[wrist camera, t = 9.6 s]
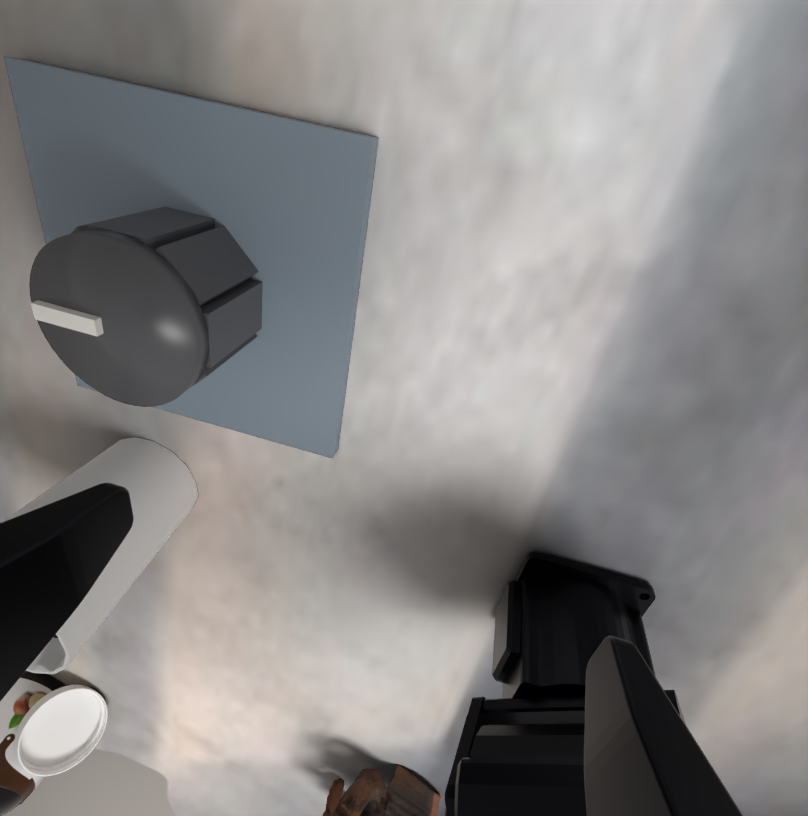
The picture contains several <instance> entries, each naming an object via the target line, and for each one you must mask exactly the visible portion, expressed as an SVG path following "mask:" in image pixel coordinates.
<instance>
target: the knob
mask: <svg viewBox="0 0 808 816" xmlns="http://www.w3.org/2000/svg"><path fill="white" fill-rule="evenodd" d="M258 272H259V271H258V269H257V268H256V267H255V265H254V264H253V263H252V261H251V260H250V259H249V258H248V256H247V255H246V254H245V252H244V251H243V250H242V248H241V247H240V246H239V244H238V243H237V242H236V240H235V239H234V238H233V236H232V235H231V234H230V232H229V231H228V230H227V228H226V227H225V226H221V227H218V228H215V219H214V218H210V217H206V216H202V215H198V214H194V213H190V212H186V211H182V210H178V209H174V208H170V207H166V206H165V207H161V208H156V209H152V210H148V211H143V212H139V213H134V214H130V215H125V216H121V217H117V218H112V219H108V220H103V221H99V222H94V223H90V224H86V225H82V226H77V227H76V228H75V230H74V231H73V232H72V233H71V234H68V235H64V236H62V237H59V238H56V239H54V240H52V241H51V242H49V243H48V244H46V245H45V246H44V247H43V248H42V249H41V250H40V252H39V253H38V255H37V256H36V258H35V260H34V263H33V265H32V269H31V274H30V296H31V302H32V303H31V307H32V311H33V315H34V319H36V320H37V321H38V324H39V326H40V328H41V330H42V332H43V334H44V336H45V338H46V339H47V341H48V342H49V344H50V346H51V347H52V349H53V350H54V351H55V353H56V354H57V355H58V357H59V358H60V359H61V360H62V361H63V362H64V363H65V365H66V366H67V367H68V368H69V369H70V370H71V371H72V372H73V373H74V374H75V375H77V376H78V377H79V378H80V379H81V380H83V381H84V382H85V383H86V384H88V385H89V386H91V387H92V388H94V389H95V390H97V391H98V392H100V393H102V394H104V395H105V396H108V397H110V398H112V399H114V400H117V401H120V402H122V403H125V404H130V405H134V406H142V407H153V406H159V405H163V404H166V403H169V402H171V401H173V400H175V399H176V398H178V397H179V396H180V395H182V394H183V393H184V392H185V391H187V390H188V389H189V388H191V387H192V386H194V385H195V384H197V383H198V382H199V381H201V380H202V379H204V378H205V377H207V376H208V375H209V374H211V373H212V372H213V371H214V370H216V369H217V368H218V367H219V366H221V365H222V364H223V363H225V362H226V361H227V360H228V359H230V358H231V357H232V356H233V355H235V354H236V353H237V352H238V351H240V350H241V349H242V348H244V347H245V346H246V345H247V344H249V343H250V342H251V341H252V340H254V339H255V338H256V337H258V336H257V334H256V333H257V332H258V331H259V330H261V329H262V287H263V282H261V281H257V280H253V279H250V278H251V277H252V276H254V275H255V274H256V273H258Z"/></svg>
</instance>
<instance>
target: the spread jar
mask: <svg viewBox="0 0 808 816" xmlns="http://www.w3.org/2000/svg"><path fill="white" fill-rule="evenodd" d="M107 717H108V711H107V705H106V702H105V700H104V699H103V697H102V696H101V695H100V694H99V693H98V692H96V691H95V690H94V689H92V688H90V687H88V686H84V685H69V686H65V685H64V684H63V683H61V682H60V681H59V680H57V679H55V678H54V677H52V676H50V675H48V674H41V673H32V672H29V671H25V672H24V673H23V675H22V676H21V677H20V678H19V679H18V681H17V682H16V683H15V684H14V685H13V687H12V688H11V689H10V690H9V692H8V693H7V694H6V695H5V696H4V698H3V699H2V700H1V701H0V816H2V815H4V814H6V813H8V812H9V811H11V810H12V809H14V808H15V807H17V806H18V805H19V804H22V803H23V802H24V800H25V799H26V798H27V797H28V796H29V795H30V794H31V793H32V792H33V790H34V789H35V788H36V787H37V786H38V784H39V783H40V782H41V781H42V779H43V778H44V777H45V776H52V775H56V774H59V773H62V772H64V771H66V770H68V769H70V768H72V767H74V766H75V765H77V764H78V763H79V762H81V761H82V760H83V759H84V758H85V757H86V756H88V754H89V753H90V752H91V751H92V750H93V749H94V748H95V746H96V745H97V743H98V742H99V740H100V738H101V736H102V734H103V732H104V730H105V727H106V724H107Z"/></svg>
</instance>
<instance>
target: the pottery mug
mask: <svg viewBox="0 0 808 816" xmlns="http://www.w3.org/2000/svg"><path fill="white" fill-rule="evenodd" d="M343 787H344V780H342V779H338V780H335V781H334V782H333V785H332V787H331V788H330V790H329V795H328V797H327V804H326V811H325V812H324V813H323V816H437V811H438V804H439V801H440V798H441V797H440V795H438V794H437V793H436V792H433V791H432V790H431V789H429V788H428V787H427V785H426V784H425V783H424V782H422V781H421V780H420V779H418V778H417V777H415V776H414V775H413V774H411V773H410V772H409V771H407V770H406V769H405V768H403V767H402V766H401V765H398V766H397V767H396V769H395V772H394V776H393V778H392V779H391V781H390V783H389V785H388V787H387V789H386V787H385V783H384V779H383V776H382V775H381V773H380V772H379V770H378V769H363V770H362V771H361V772H360V774H359V776H358V777H357V778H356V780H355V782H354V783H353V784H352V785H351V786H350V787H349V788H348V790H347V791H346V792H345V793H344V795H343V796H342V798H341V795H342V791H343Z"/></svg>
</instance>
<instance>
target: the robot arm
mask: <svg viewBox="0 0 808 816" xmlns="http://www.w3.org/2000/svg"><path fill="white" fill-rule="evenodd" d="M133 520H134V516H133V511H132V505H131V500H130V494H129V491H128V490H127V489H126V488H125V487H122V486H119V485H115V484H112V483H101V484H98V485H96V486H93V487H91V488H88V489H86V490H83V491H81V492H78V493H76V494H73V495H70V496H68V497H65V498H63V499H60V500H58V501H55V502H53V503H50V504H48V505H45V506H43V507H40V508H38V509H35V510H32V511H30V512H27V513H25V514H22V515H20V516H17V517H15V518H12V519H10V520H7V521H5V522H2V523H0V701H1V700H2V699H3V698H4V696H5V695H6V694H7V693H8V692H9V690H10V689H11V688H12V687H13V685H14V684H15V683H16V682H17V681H18V679H19V678H20V677H21V676H22V675H23V673H24V672H25V671H26V670H27V668H28V667H29V666H30V665H31V664H32V662H33V661H34V660H35V659H36V657H37V656H38V655H39V654H40V653H41V651H42V650H43V649H44V648H45V646H46V645H47V644H48V643H49V642H50V640H51V639H52V638H53V637H54V635H55V634H56V633H57V632H58V631H59V629H60V628H61V627H62V626H63V625H64V623H65V622H66V621H67V620H68V618H69V617H70V616H71V615H72V613H73V612H74V611H75V610H76V608H77V607H78V606H79V605H80V603H81V602H82V601H83V599H84V598H85V596H86V595H87V594H88V592H89V591H90V589H91V588H92V586H93V585H94V583H95V582H96V580H97V579H98V577H99V576H100V574H101V573H102V571H103V570H104V569H105V567H106V566H107V564H108V563H109V561H110V560H111V558H112V557H113V555H114V554H115V552H116V551H117V549H118V548H119V546H120V545H121V543H122V542H123V540H124V539H125V537H126V536H127V534H128V533H129V531H130V529H131V527H132V525H133ZM534 561H538V562H534ZM642 593H644V594H642ZM654 600H655V593H654V590H653V587H652V586H651V585H648V584H646V583H642V582H639V581H635V580H632V579H629V578H625V577H622V576H618V575H615V574H612V573H608V572H605V571H601V570H598V569H594V568H591V567H588V566H584V565H581V564H577V563H574V562H571V561H567V560H564V559H560V558H557V557H553V556H550V555H547V554H543V553H540V552H531V553H529V554H528V555H527V556H526V559H525V561H524V563H523V565H522V567H521V569H520V571H519V573H518V575H517V578H516V580H511V581H510V582H508V584H507V586H506V589H505V591H504V593H503V595H502V597H501V599H500V601H499V604H498V606H497V608H496V619H495V635H494V651H493V668H492V675H493V677H494V679H495V680H496V681H499V682H502V683H503V692H502V699H485V697H473V698H472V701H471V705H470V708H469V712H468V715H467V718H466V721H465V725H464V728H463V732H462V735H461V739H460V742H459V746H458V749H457V753H456V756H455V760H454V763H453V767H452V770H451V774H450V777H449V781H448V785H447V788H446V792H445V804H446V808H445V816H743V815H742V813H741V812H740V810H739V809H738V807H737V805H736V804H735V802H734V801H733V799H732V797H731V796H730V794H729V793H728V791H727V790H726V788H725V786H724V785H723V783H722V782H721V780H720V779H719V777H718V775H717V774H716V772H715V771H714V769H713V767H712V766H711V764H710V763H709V761H708V760H707V758H706V756H705V755H704V753H703V752H702V750H701V748H700V747H699V745H698V744H697V742H696V741H695V739H694V737H693V736H692V734H691V733H690V731H689V729H688V728H687V726H686V724H685V721H684V718H683V715H682V712H681V709H680V706H679V703H678V700H677V697H676V694H675V691H674V690H663V688H662V687H661V685H660V684H659V682H658V680H657V679H656V676H655V672H654V668H653V664H652V659H651V655H650V651H649V647H648V642H647V638H646V634H645V630H644V625H643V621H642V616H643V614H644V613H645V612H646V610H647V609H648V608H649V606H650V605H651V604H652V602H653V601H654Z"/></svg>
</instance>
